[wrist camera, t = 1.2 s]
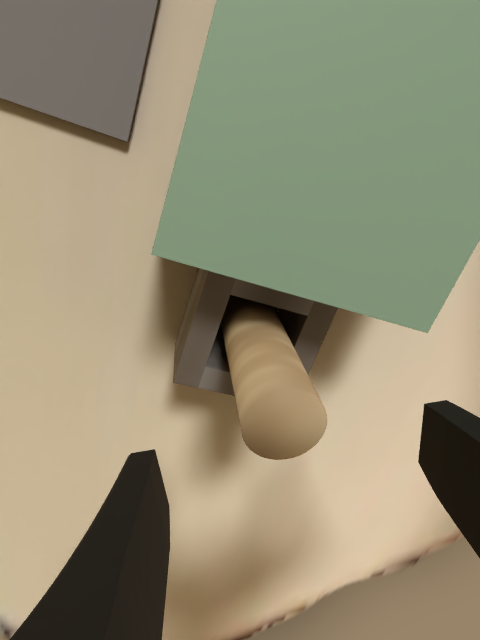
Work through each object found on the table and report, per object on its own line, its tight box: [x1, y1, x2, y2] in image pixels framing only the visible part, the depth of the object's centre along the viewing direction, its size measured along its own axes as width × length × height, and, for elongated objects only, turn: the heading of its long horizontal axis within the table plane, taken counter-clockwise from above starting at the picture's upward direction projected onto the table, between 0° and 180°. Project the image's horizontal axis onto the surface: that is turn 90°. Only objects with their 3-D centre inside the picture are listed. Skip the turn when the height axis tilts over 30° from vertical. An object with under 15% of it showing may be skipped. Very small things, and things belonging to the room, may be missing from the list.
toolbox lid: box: [151, 0, 480, 333], centre depth 10 cm, size 10×16×3 cm, turn 161°
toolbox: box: [173, 268, 338, 396], centre depth 15 cm, size 10×22×5 cm, turn 161°
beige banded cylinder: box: [221, 295, 327, 460], centre depth 16 cm, size 3×3×9 cm
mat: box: [0, 0, 159, 142], centre depth 14 cm, size 6×7×1 cm
